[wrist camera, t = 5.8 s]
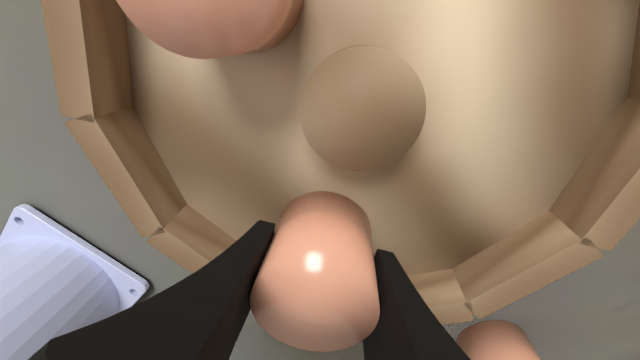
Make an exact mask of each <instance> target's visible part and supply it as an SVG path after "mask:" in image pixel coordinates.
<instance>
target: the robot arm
mask: <svg viewBox="0 0 640 360" xmlns="http://www.w3.org/2000/svg"><path fill="white" fill-rule="evenodd" d="M274 229H275V223H271V222H267V221H263V220H259V221H257V222H256V223H255V224H254V225H253V226H252V227H251V228H250V229H249V230H248V231H247V232H246V233H245V234H244V235H242V236H241V237H240V238H239V239H238V240H237V241H236V242H234V243H233V244H232V245H231V246H230V247H228V248H227V249H226V250H225V251H224V252H222V253H221V254H220V255H218V256H217V257H216V258H214V259H213V260H212V261H210V262H209V263H207V264H206V265H205V266H203V267H202V268H200V269H199V270H197V271H196V272H194V273H193V274H191V275H190V276H188V277H186V278H185V279H183V280H181V281H180V282H178V283H176V284H175V285H173V286H171V287H169V288H167V289H166V290H164V291H162V292H160V293H158V294H157V295H155V296H153V297H151V298H149V299H147V300H145V301H143V302H141V303H138V304H136V305H134V304H135V303H136V302H137V301H138V300H139V298H140V297H141V296H142V295H143V294H144V293H145V292H146V291H147V289H148V288H149V283H148V282H147V281H146V280H145V279H144V278H142V277H140V276H139V275H137V274H136V273H134V272H133V271H131V270H130V269H128V268H126V267H125V266H123V265H122V264H120V263H119V262H117V261H116V260H114V259H112V258H111V257H109V256H108V255H106V254H105V253H103V252H102V251H100V250H98V249H97V248H95V247H94V246H92V245H91V244H89V243H88V242H86V241H84V240H83V239H81V238H80V237H78V236H77V235H75V234H73V233H72V232H70V231H69V230H67V229H66V228H64V227H63V226H61V225H59V224H58V223H56V222H55V221H53V220H52V219H50V218H49V217H47V216H45V215H44V214H42V213H41V212H39V211H38V210H36V209H35V208H33V207H31V206H29V205H26V204H21V205H19V206H17V207H15V208H14V209H13V211H12V213H11V215H10V217H9V220H8V222H7V224H6V226H5V228H4V230H3V232H2V234H1V236H0V360H229V358H230V355H231V352H232V350H233V347H234V345H235V343H236V340H237V338H238V336H239V334H240V331H241V329H242V327H243V325H244V322H245V320H246V318H247V316H248V314H249V311H250V309H251V306H250V294H251V290H252V287H253V285H254V282H255V280H256V277H257V274H258V272H259V269H260V267H261V264H262V262H263V259H264V257H265V255H266V252H267V250H268V247H269V244H270V242H271V239H272V237H273V234H274ZM374 260H375V269H376V278H377V287H378V297H379V306H380V315H379V320H378V323H377V325H376V327H375V329H374V330H373V331H372V333H371V334H370V335H369V336H368V337H367V338H366V339H364V340H363V346H364V358H365V360H471V359H470V358H469V357H468V356H467V355H466V353H465V352H464V351H463V350H462V349H461V348H460V347H459V345H458V344H457V343H456V342H455V341H454V339H453V338H452V337H451V336H450V335H449V334H448V332H447V331H446V330H445V329H444V327H443V326H442V325H441V323H440V322H439V321H438V319H437V318H436V317H435V315H434V314H433V313H432V311H431V310H430V309H429V307H428V306H427V304H426V303H425V302H424V300H423V299H422V297H421V296H420V294H419V293H418V291H417V290H416V288H415V287H414V285H413V284H412V282H411V280H410V279H409V277H408V276H407V274H406V272H405V271H404V269H403V268H402V266H401V264H400V263H399V261H398V260H397V258H396V256H395V255H394V253H393V252H389V251H385V250H381V249H377V251H376V253H375V256H374ZM133 305H134V306H133Z"/></svg>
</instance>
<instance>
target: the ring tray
mask: <svg viewBox="0 0 640 360" xmlns="http://www.w3.org/2000/svg"><path fill="white" fill-rule="evenodd" d="M41 4H42V10H43V15H44V21H45V27H46V32H47V38H48V43H49V49H50V55H51V60H52V66H53V71H54V77H55V83H56V88H57V94H58V99H59V105H60V111H61V115H63V116H67V117H71V118H75V119H73V120H70V121H67V122H64V123H65V124H66V126H67V127H68V129H69V130H70V131H71V133H72V134H73V136H74V137H75V139H76V140H77V142H78V143H79V145H80V146H81V148H82V149H83V151H84V152H85V154H86V155H87V157H88V158H89V160H90V161H91V163H92V164H93V166H94V167H95V169H96V170H97V172H98V173H99V175H100V176H101V178H102V179H103V181H104V182H105V184H106V185H107V186H108V188H109V189H110V191H111V192H112V194H113V195H114V197H115V198H116V200H117V201H118V203H119V204H120V206H121V207H122V209H123V210H124V212H125V213H126V215H127V216H128V218H129V219H130V221H131V222H132V224H133V225H134V227H135V228H136V230H137V231H138V233H139V234H140V236H141V237H147V236H151V235H152V236H151V237H150V238H149V239H148V240H147V243H149V244H150V245H152V246H153V247H154V248H156V249H157V250H159V251H160V252H162V253H163V254H165V255H166V256H168V257H169V258H171V259H172V260H174V261H175V262H177V263H178V264H180V265H181V266H182V267H184V268H185V269H187V270H188V271H190V272H191V273H194V272H196V271H197V270H199V269H200V268H202V267H203V266H205V265H206V264H207V263H209V262H210V261H212V260H213V259H214V258H216V257H217V256H218V255H220V254H221V253H222V252H224V251H225V250H226V249H227V248H228V247H230V246H231V245H232V244H233V243H234V242H236V241H237V240H238V239H239V238H240V237H241V236H242V235H244V234H245V233H246V232H247V231H248V230H249V229H250V228H251V227H252V226H253V225H254V224H255V223H256V222H257V221H259V220H263V221H267V222H271V223H275V228H276V226H277V223H278V221H279V218H280V216H281V213H282V212H283V210H284V208H285V207H286V206H287V205H288V204H289V203H290V202H291V201H292V200H294V199H295V198H297V197H299V196H301V195H303V194H306V193H310V192H316V191H328V192H334V193H338V194H341V195H343V196H346V197H348V198H350V199H351V200H353V201H354V202H356V203H357V204H358V205H359V206H360V207H361V208H362V209H363V211H364V212H365V213H366V215H367V217H368V219H369V222H370V226H371V233H372V242H373V251H374V256H375V253H376V251H377V249H381V250H385V251H389V252H393V253H394V255H395V256H396V258H397V260H398V261H399V263H400V264H401V266H402V268H403V269H404V271H405V272H406V274H407V276H408V277H409V279H410V280H411V282H412V284H413V285H414V287H415V288H416V290H417V291H418V293H419V294H420V296H421V297H422V299H423V300H424V302H425V303H426V304H427V306H428V307H429V309H430V310H431V311H432V313H433V314H434V315H435V317H436V318H437V319H438V321H439V322H440V323H441V325H444V324H452V323H461V322H469V321H474V319H473V314H474V315H475V316H477V317H478V318H479V319H481V318H483V317H485V316H487V315H489V314H491V313H493V312H495V311H497V310H499V309H501V308H503V307H505V306H507V305H509V304H511V303H513V302H515V301H517V300H518V299H520V298H522V297H524V296H526V295H528V294H530V293H532V292H534V291H536V290H538V289H540V288H542V287H544V286H546V285H548V284H550V283H552V282H554V281H556V280H558V279H560V278H562V277H564V276H566V275H568V274H570V273H572V272H574V271H576V270H578V269H579V268H581V267H583V266H585V265H587V264H589V263H591V262H593V261H595V260H597V259H599V258H601V257H603V254H602V253H601V252H600V251H599V250H598V249H602V250H606V251H611V250H612V249H613V248H614V246H615V245H616V244H617V243H618V242H619V241H620V240H621V239H622V237H623V236H624V235H625V234H626V233H627V232H628V231H629V229H630V228H631V227H632V226H633V225H634V224H635V223H636V222H637V220H638V219H639V218H640V0H304V3H303V7H302V11H301V14H300V17H299V19H298V21H297V23H296V25H295V27H294V28H293V30H292V31H291V33H290V34H289V35H288V36H287V37H286V38H285V39H284V40H283V41H282V42H280V43H279V44H277V45H276V46H274V47H272V48H270V49H267V50H264V51H259V52H252V53H246V54H239V55H232V56H226V57H219V58H211V59H194V58H189V57H184V56H181V55H178V54H175V53H172V52H170V51H168V50H166V49H164V48H162V47H161V46H159V45H158V44H156V43H154V42H153V41H152V40H150V39H149V38H148V37H147V36H145V35H144V34H143V33H142V32H141V31H140V30H139V29H138V28H137V27H136V26H135V25H134V24H133V23H132V22H131V20H130V19H129V18H128V17H127V16H126V14H125V13H124V12H123V10H122V9H121V7H120V6H119V4H118V3H117V1H116V0H41ZM274 231H275V229H274ZM597 248H598V249H597ZM250 310H251V309H250Z"/></svg>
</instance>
